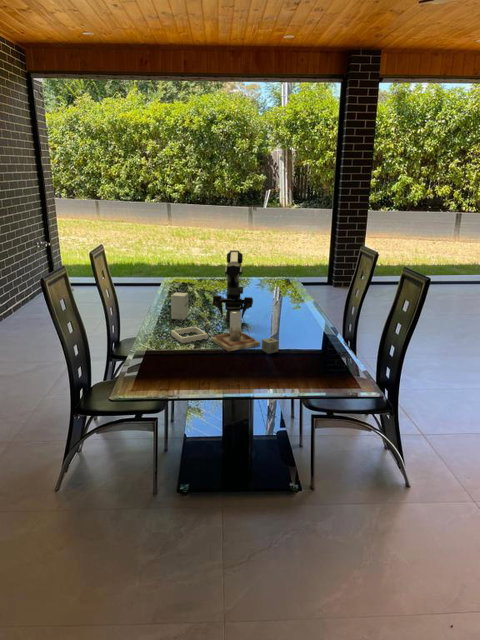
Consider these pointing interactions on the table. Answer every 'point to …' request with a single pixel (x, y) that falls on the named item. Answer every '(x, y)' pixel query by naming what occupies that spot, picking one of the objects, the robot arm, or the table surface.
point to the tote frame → (190, 338)
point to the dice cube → (269, 345)
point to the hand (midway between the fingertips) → (232, 317)
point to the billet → (235, 326)
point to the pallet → (231, 345)
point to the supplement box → (179, 306)
